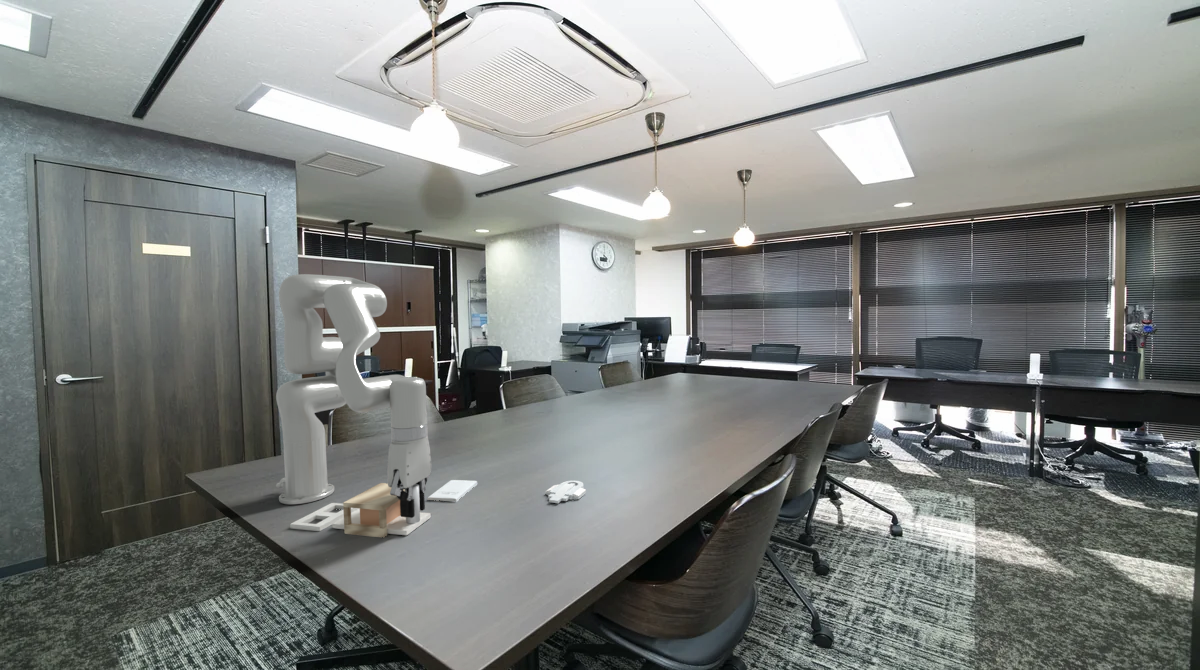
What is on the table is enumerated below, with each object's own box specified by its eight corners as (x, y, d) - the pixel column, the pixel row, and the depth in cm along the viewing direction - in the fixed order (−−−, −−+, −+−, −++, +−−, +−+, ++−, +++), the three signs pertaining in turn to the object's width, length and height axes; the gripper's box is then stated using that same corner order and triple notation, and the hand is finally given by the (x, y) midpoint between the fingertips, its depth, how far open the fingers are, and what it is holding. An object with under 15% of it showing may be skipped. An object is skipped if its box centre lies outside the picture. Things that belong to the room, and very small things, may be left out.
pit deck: (290, 528, 105) (290, 523, 105) (332, 506, 117) (331, 502, 117) (319, 531, 103) (319, 526, 103) (359, 508, 115) (358, 505, 115)
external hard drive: (477, 486, 130) (456, 504, 118) (450, 485, 132) (426, 502, 119) (477, 480, 130) (456, 498, 118) (450, 479, 131) (426, 496, 119)
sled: (332, 528, 104) (330, 488, 104) (361, 511, 113) (360, 475, 112) (406, 535, 100) (405, 494, 99) (430, 517, 109) (429, 479, 108)
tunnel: (344, 533, 102) (343, 502, 101) (381, 510, 113) (380, 482, 113) (384, 537, 99) (382, 505, 99) (417, 514, 111) (416, 485, 111)
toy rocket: (571, 508, 113) (570, 499, 113) (536, 503, 117) (536, 494, 117) (597, 486, 128) (596, 478, 128) (565, 482, 132) (565, 474, 132)
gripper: (417, 423, 112) (420, 497, 113) (369, 442, 97) (373, 528, 97) (444, 424, 111) (447, 500, 112) (400, 443, 95) (404, 531, 96)
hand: (412, 512), depth 104 cm, fingers closed on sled, 3 cm apart
